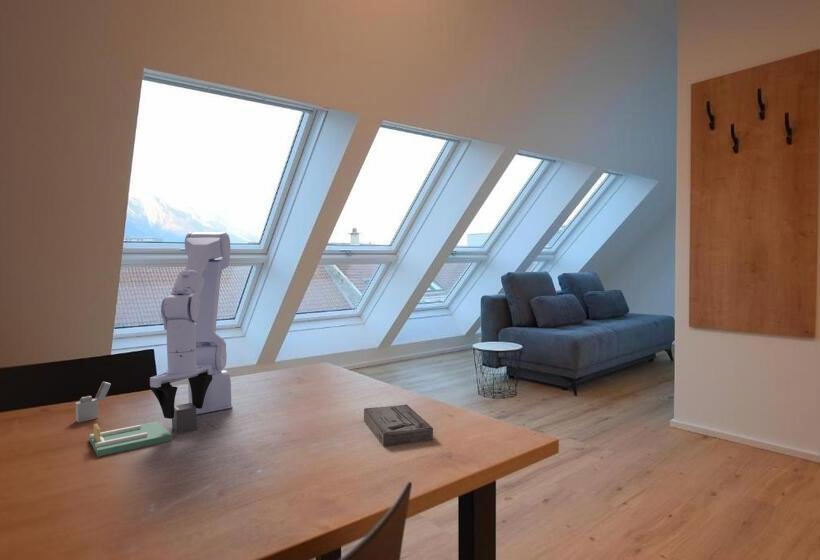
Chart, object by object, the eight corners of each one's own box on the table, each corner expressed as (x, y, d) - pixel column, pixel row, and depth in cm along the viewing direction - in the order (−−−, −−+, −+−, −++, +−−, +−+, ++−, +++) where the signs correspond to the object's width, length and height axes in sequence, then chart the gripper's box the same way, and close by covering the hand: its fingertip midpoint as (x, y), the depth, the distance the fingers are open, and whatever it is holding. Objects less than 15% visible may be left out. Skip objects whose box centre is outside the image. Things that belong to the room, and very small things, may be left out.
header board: (158, 426, 114) (157, 407, 114) (171, 440, 105) (170, 420, 105) (89, 440, 106) (88, 420, 106) (97, 456, 97) (96, 434, 97)
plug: (191, 425, 115) (190, 402, 115) (196, 429, 112) (196, 406, 112) (172, 429, 112) (171, 406, 112) (177, 433, 109) (176, 410, 109)
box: (407, 416, 120) (407, 403, 120) (434, 442, 104) (434, 426, 104) (362, 421, 117) (362, 407, 117) (383, 448, 101) (383, 432, 101)
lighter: (78, 422, 117) (77, 387, 117) (75, 420, 118) (74, 386, 118) (112, 414, 123) (111, 381, 122) (109, 413, 124) (108, 380, 123)
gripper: (195, 343, 119) (196, 401, 120) (138, 355, 106) (141, 420, 107) (218, 345, 116) (219, 405, 117) (163, 357, 103) (165, 424, 104)
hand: (183, 412), depth 112 cm, fingers open, 7 cm apart
